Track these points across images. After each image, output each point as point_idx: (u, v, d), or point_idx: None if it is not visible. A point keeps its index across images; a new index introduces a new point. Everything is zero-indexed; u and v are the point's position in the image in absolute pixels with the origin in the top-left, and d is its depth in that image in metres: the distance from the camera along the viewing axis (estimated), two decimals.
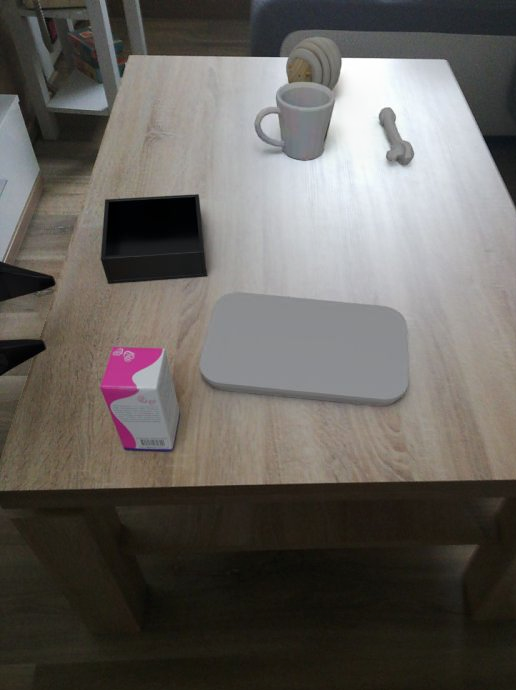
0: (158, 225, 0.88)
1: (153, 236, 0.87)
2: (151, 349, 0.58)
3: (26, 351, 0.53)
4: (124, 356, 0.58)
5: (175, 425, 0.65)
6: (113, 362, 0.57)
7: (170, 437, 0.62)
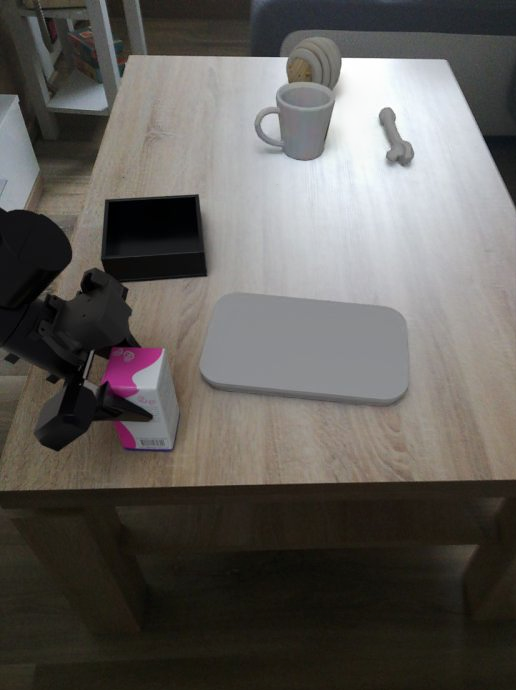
0: (158, 225, 0.88)
1: (153, 236, 0.87)
2: (151, 349, 0.58)
3: (136, 417, 0.57)
4: (124, 356, 0.58)
5: (175, 425, 0.65)
6: (113, 362, 0.57)
7: (170, 437, 0.62)
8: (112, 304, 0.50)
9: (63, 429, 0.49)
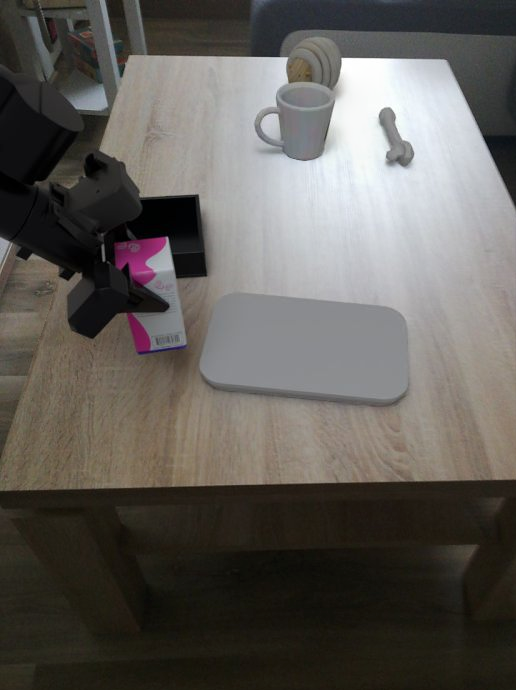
0: (158, 225, 0.88)
1: (153, 236, 0.87)
2: (154, 239, 0.58)
3: (155, 306, 0.57)
4: (130, 248, 0.57)
5: None
6: (121, 254, 0.57)
7: (184, 331, 0.63)
8: (124, 177, 0.50)
9: (102, 306, 0.49)
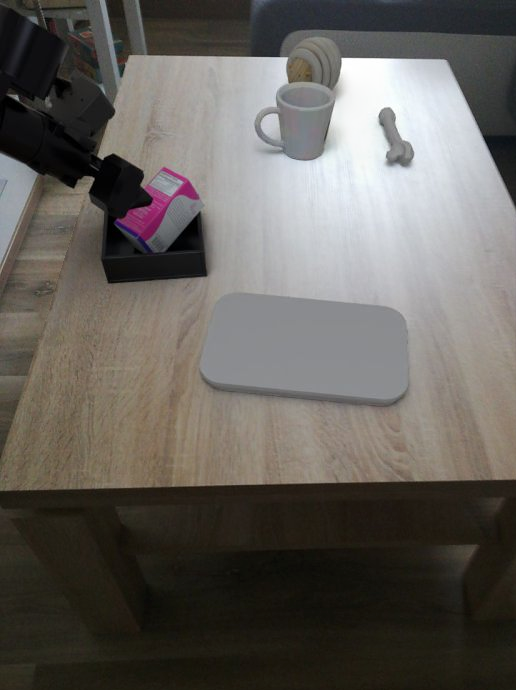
0: None
1: None
2: None
3: (145, 199, 0.71)
4: None
5: None
6: None
7: None
8: None
9: (130, 182, 0.63)
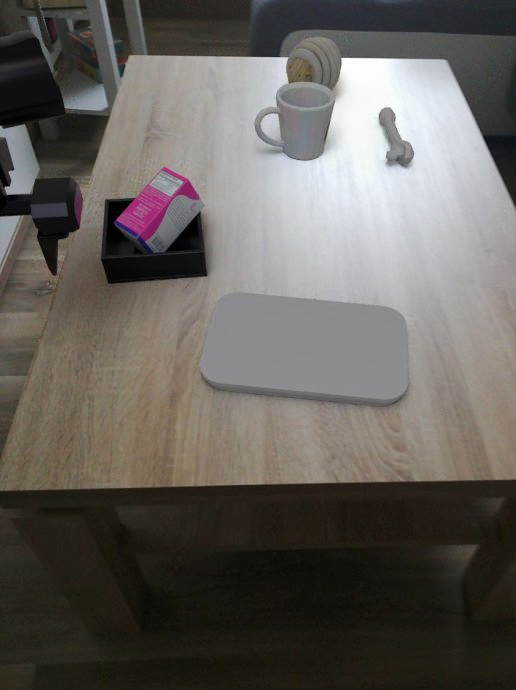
0: None
1: None
2: None
3: (57, 261, 0.61)
4: None
5: None
6: None
7: None
8: None
9: (78, 192, 0.57)
